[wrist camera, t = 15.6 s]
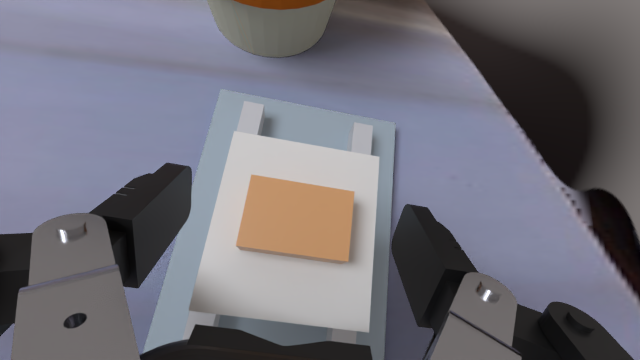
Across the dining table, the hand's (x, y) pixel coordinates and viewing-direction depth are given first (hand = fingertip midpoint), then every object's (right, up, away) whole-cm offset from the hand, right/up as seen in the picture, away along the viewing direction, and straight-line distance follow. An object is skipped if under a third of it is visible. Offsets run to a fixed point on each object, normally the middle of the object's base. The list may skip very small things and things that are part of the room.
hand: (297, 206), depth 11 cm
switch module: (-1, -3, +5) cm, 7 cm away
